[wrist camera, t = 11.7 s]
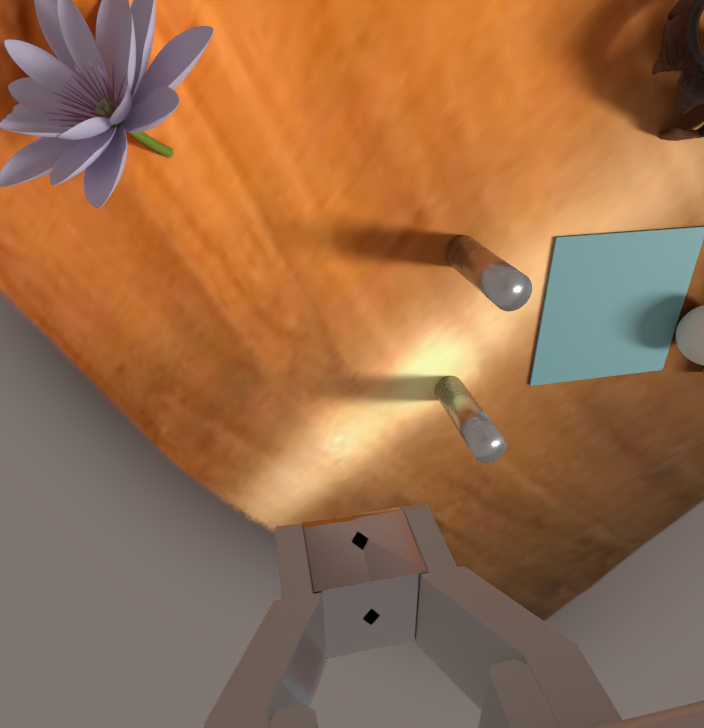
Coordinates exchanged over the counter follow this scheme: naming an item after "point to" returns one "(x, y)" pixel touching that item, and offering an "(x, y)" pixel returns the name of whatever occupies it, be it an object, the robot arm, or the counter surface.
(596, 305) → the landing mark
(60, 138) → the water lily
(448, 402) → the post
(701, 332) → the ball
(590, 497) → the counter surface
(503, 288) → the post
